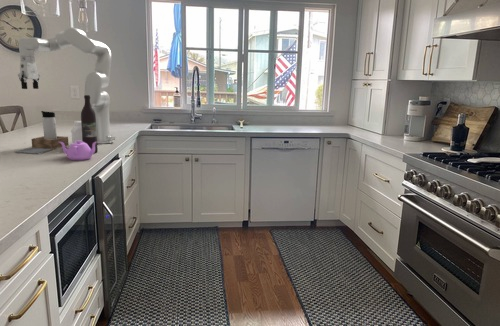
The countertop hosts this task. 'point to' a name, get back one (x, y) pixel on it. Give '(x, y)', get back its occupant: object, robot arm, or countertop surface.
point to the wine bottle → (88, 124)
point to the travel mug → (49, 125)
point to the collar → (49, 142)
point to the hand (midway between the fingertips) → (30, 88)
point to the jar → (77, 132)
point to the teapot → (79, 150)
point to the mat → (34, 150)
